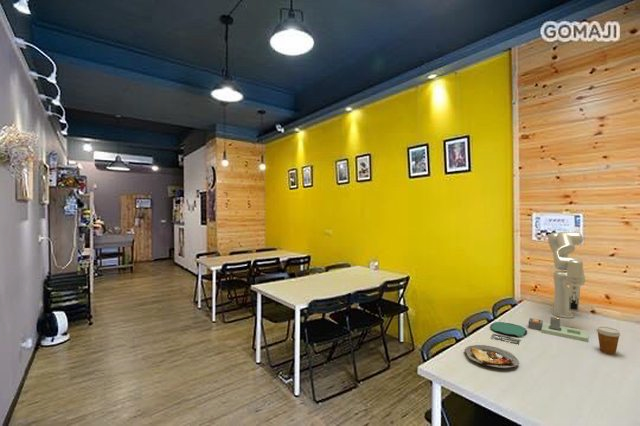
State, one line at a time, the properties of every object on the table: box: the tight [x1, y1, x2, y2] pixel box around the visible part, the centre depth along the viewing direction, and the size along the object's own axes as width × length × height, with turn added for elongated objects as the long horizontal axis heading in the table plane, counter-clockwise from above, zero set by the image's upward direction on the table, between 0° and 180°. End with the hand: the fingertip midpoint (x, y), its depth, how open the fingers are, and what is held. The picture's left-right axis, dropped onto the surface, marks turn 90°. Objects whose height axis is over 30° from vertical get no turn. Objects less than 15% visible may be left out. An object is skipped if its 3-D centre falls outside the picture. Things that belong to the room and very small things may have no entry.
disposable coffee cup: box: [596, 326, 621, 355], centre depth 172 cm, size 10×10×12 cm
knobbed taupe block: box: [569, 296, 580, 313], centre depth 202 cm, size 5×5×8 cm
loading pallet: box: [528, 317, 589, 343], centre depth 197 cm, size 29×14×5 cm, turn 52°
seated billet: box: [549, 316, 561, 331], centre depth 198 cm, size 5×5×8 cm
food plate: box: [464, 344, 520, 369], centre depth 164 cm, size 25×23×4 cm
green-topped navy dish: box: [490, 321, 528, 345], centre depth 197 cm, size 20×30×2 cm, turn 141°
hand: (573, 307), depth 203 cm, fingers closed on knobbed taupe block, 4 cm apart
